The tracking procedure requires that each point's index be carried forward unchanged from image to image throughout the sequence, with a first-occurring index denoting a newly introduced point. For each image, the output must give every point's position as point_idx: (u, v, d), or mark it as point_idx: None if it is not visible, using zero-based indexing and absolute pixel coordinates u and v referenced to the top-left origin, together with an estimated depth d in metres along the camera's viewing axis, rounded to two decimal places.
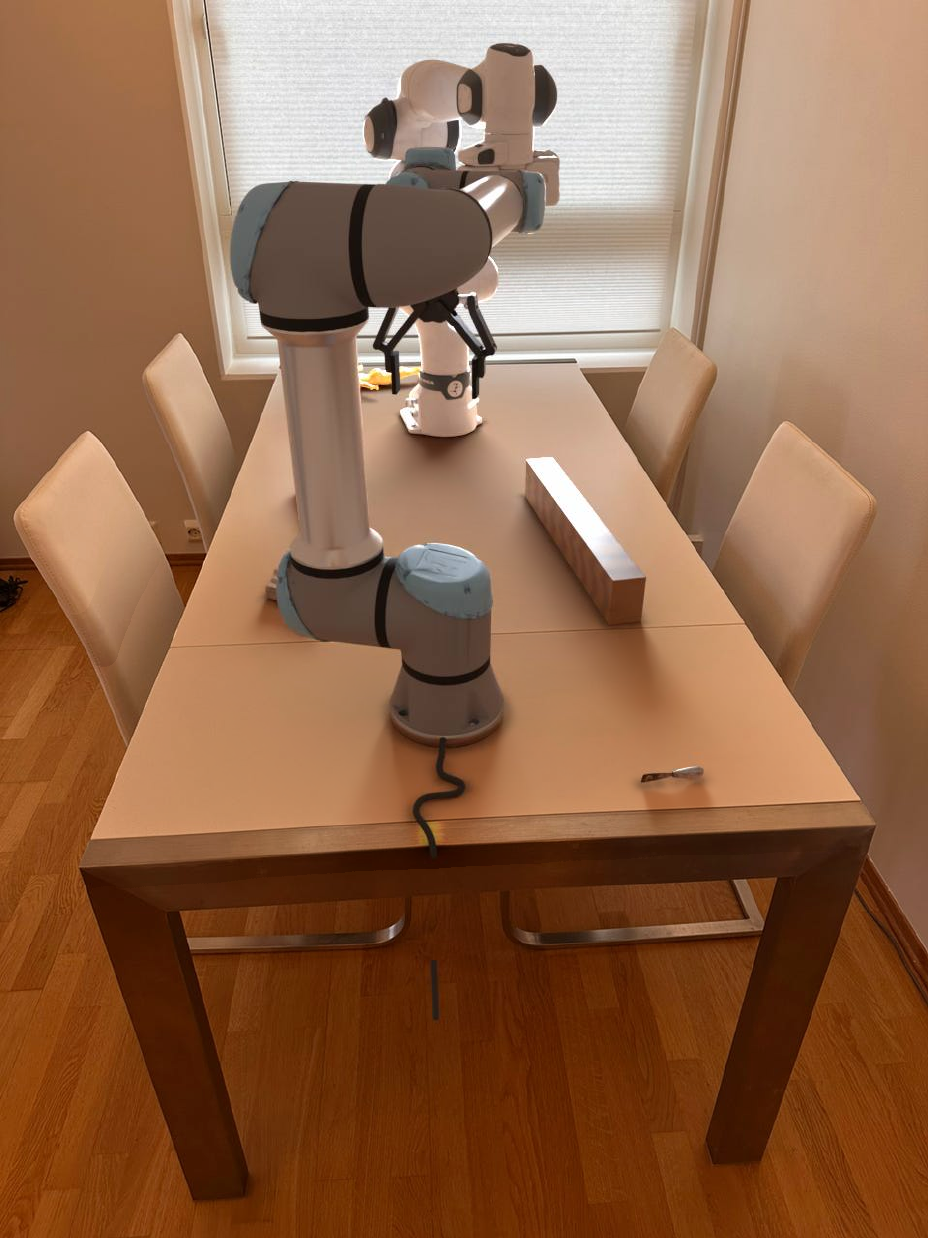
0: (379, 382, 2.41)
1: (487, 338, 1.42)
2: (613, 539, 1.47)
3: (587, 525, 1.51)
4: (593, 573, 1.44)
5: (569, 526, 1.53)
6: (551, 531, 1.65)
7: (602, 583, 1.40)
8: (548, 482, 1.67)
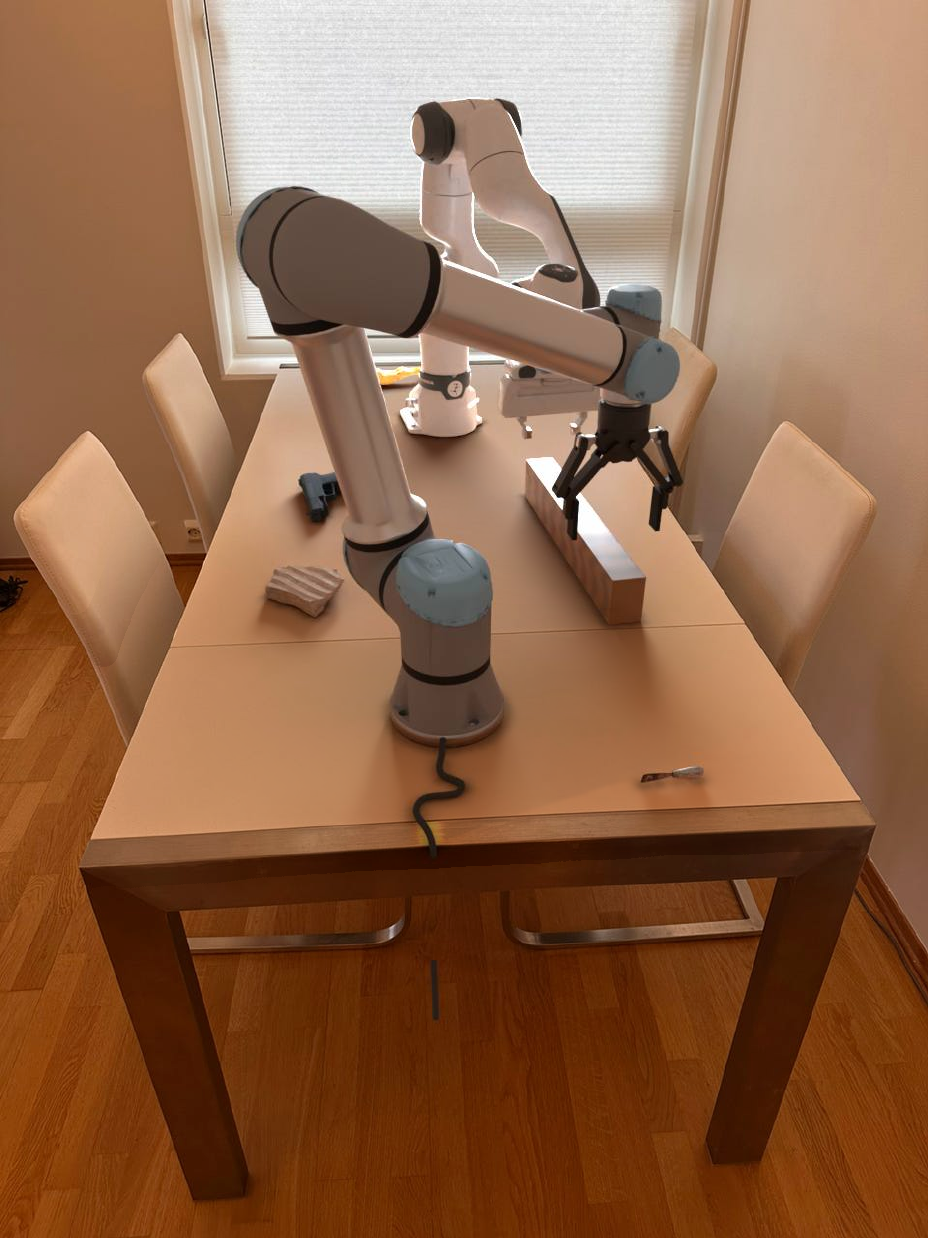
0: None
1: (677, 470, 1.35)
2: (613, 539, 1.47)
3: (587, 525, 1.51)
4: (593, 573, 1.44)
5: None
6: (551, 531, 1.65)
7: (602, 583, 1.40)
8: (548, 482, 1.67)
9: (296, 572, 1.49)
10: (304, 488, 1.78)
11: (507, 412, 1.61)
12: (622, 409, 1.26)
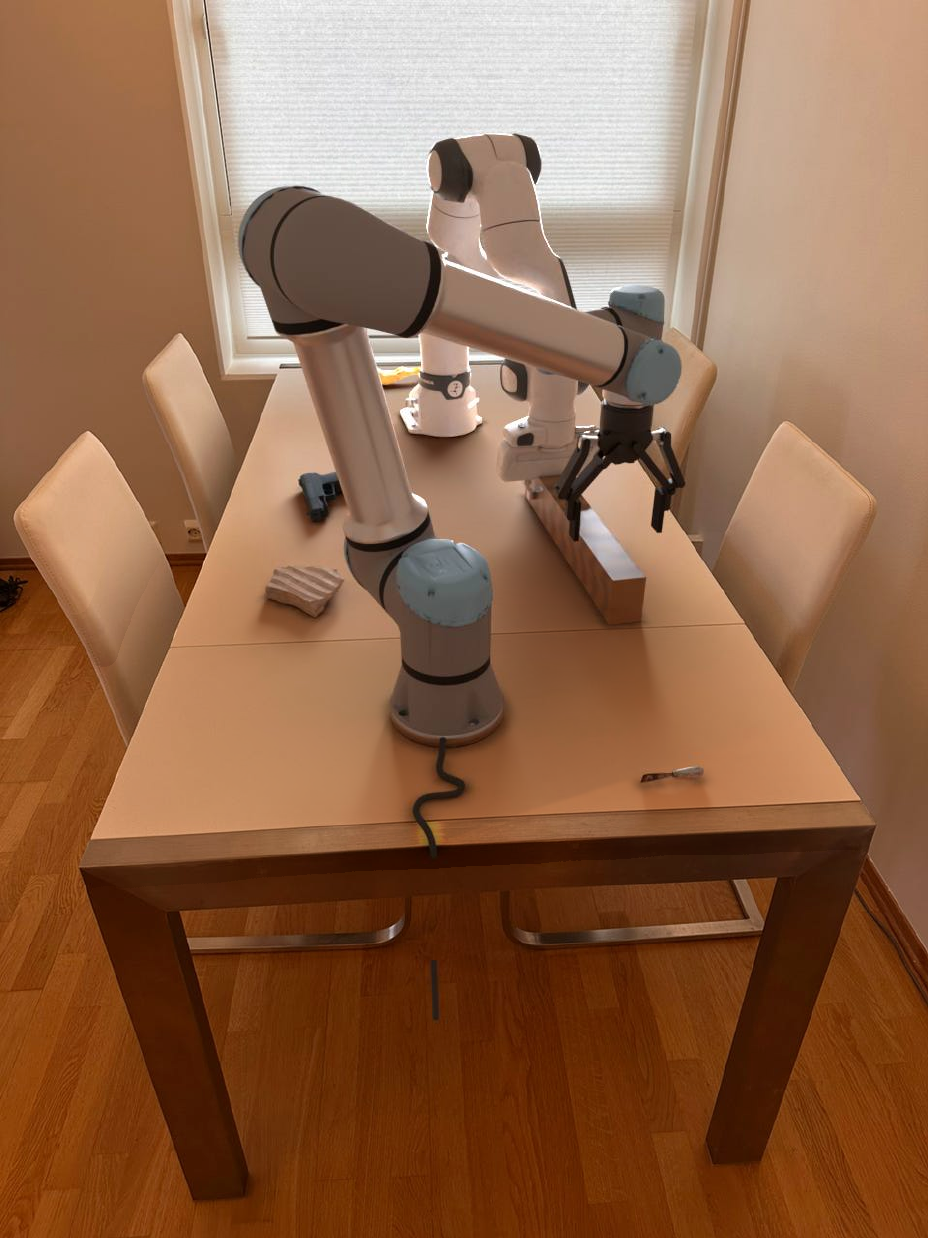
0: None
1: (679, 472, 1.35)
2: (613, 539, 1.47)
3: (587, 525, 1.51)
4: (593, 573, 1.44)
5: None
6: (551, 531, 1.65)
7: (602, 583, 1.40)
8: (548, 482, 1.67)
9: (296, 572, 1.49)
10: (304, 488, 1.78)
11: (506, 477, 1.68)
12: (624, 410, 1.25)
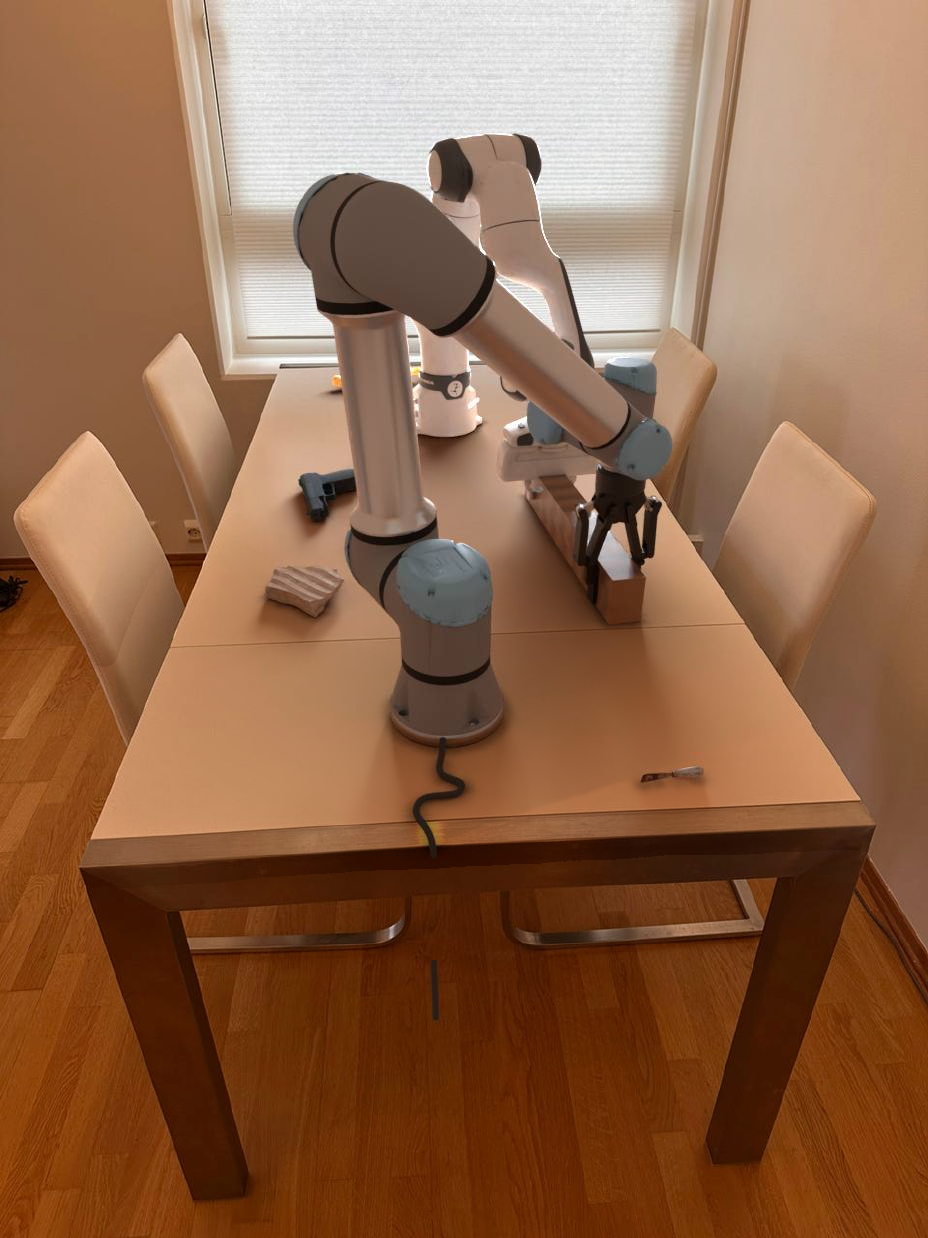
0: None
1: (654, 543, 1.40)
2: (613, 539, 1.47)
3: None
4: None
5: (569, 526, 1.53)
6: (551, 531, 1.65)
7: (602, 583, 1.40)
8: (548, 482, 1.67)
9: (296, 572, 1.49)
10: (304, 488, 1.78)
11: (506, 477, 1.68)
12: (618, 475, 1.31)
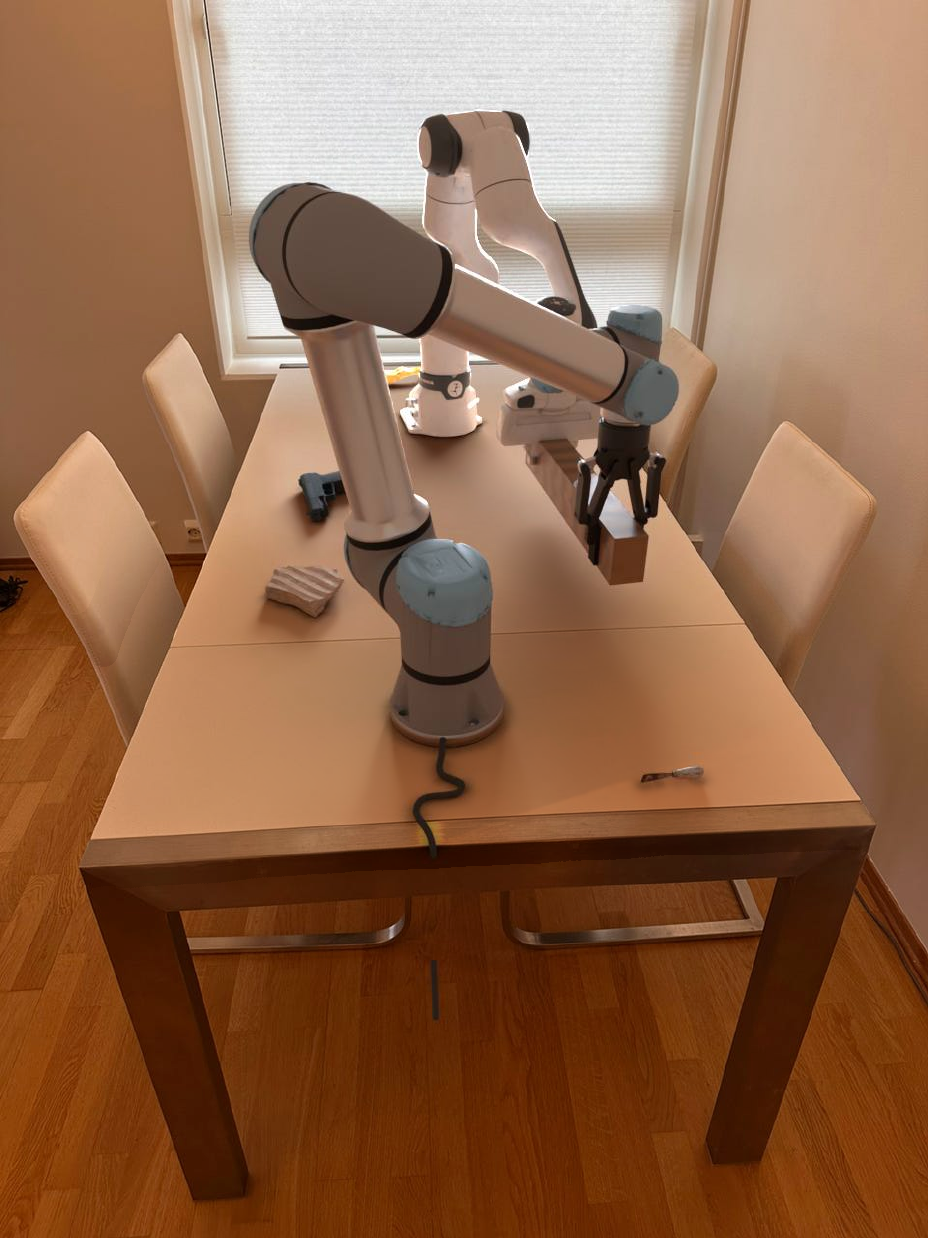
0: None
1: (657, 501, 1.37)
2: (615, 499, 1.43)
3: None
4: None
5: (570, 487, 1.50)
6: (551, 495, 1.61)
7: (604, 542, 1.36)
8: (549, 445, 1.64)
9: (296, 572, 1.49)
10: (304, 488, 1.78)
11: (506, 441, 1.64)
12: (622, 428, 1.27)
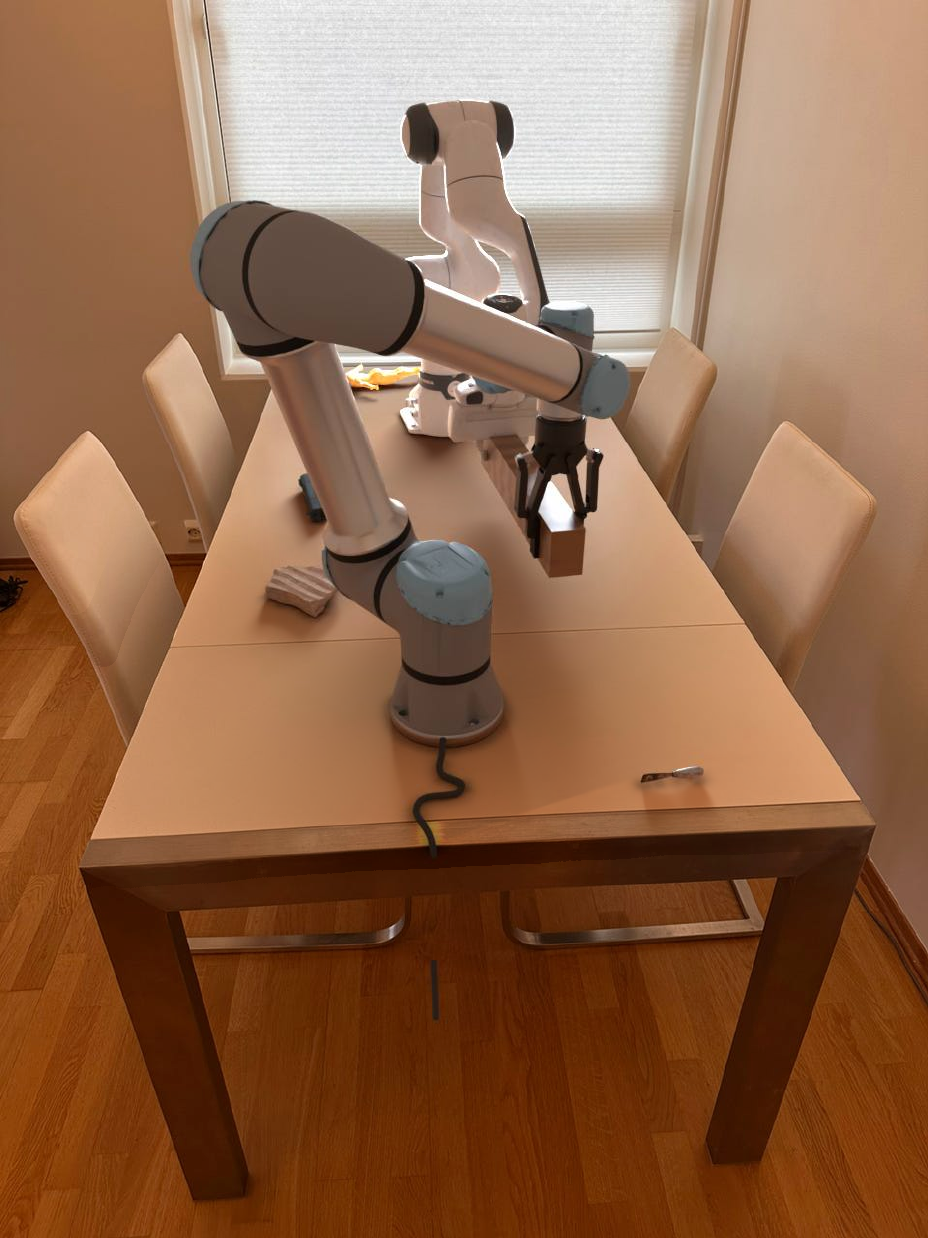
0: (379, 382, 2.41)
1: (596, 496, 1.38)
2: (557, 494, 1.45)
3: (533, 481, 1.50)
4: None
5: (515, 482, 1.52)
6: (500, 491, 1.63)
7: (543, 535, 1.38)
8: (498, 441, 1.65)
9: (296, 572, 1.49)
10: (304, 488, 1.78)
11: (456, 437, 1.66)
12: (556, 423, 1.29)
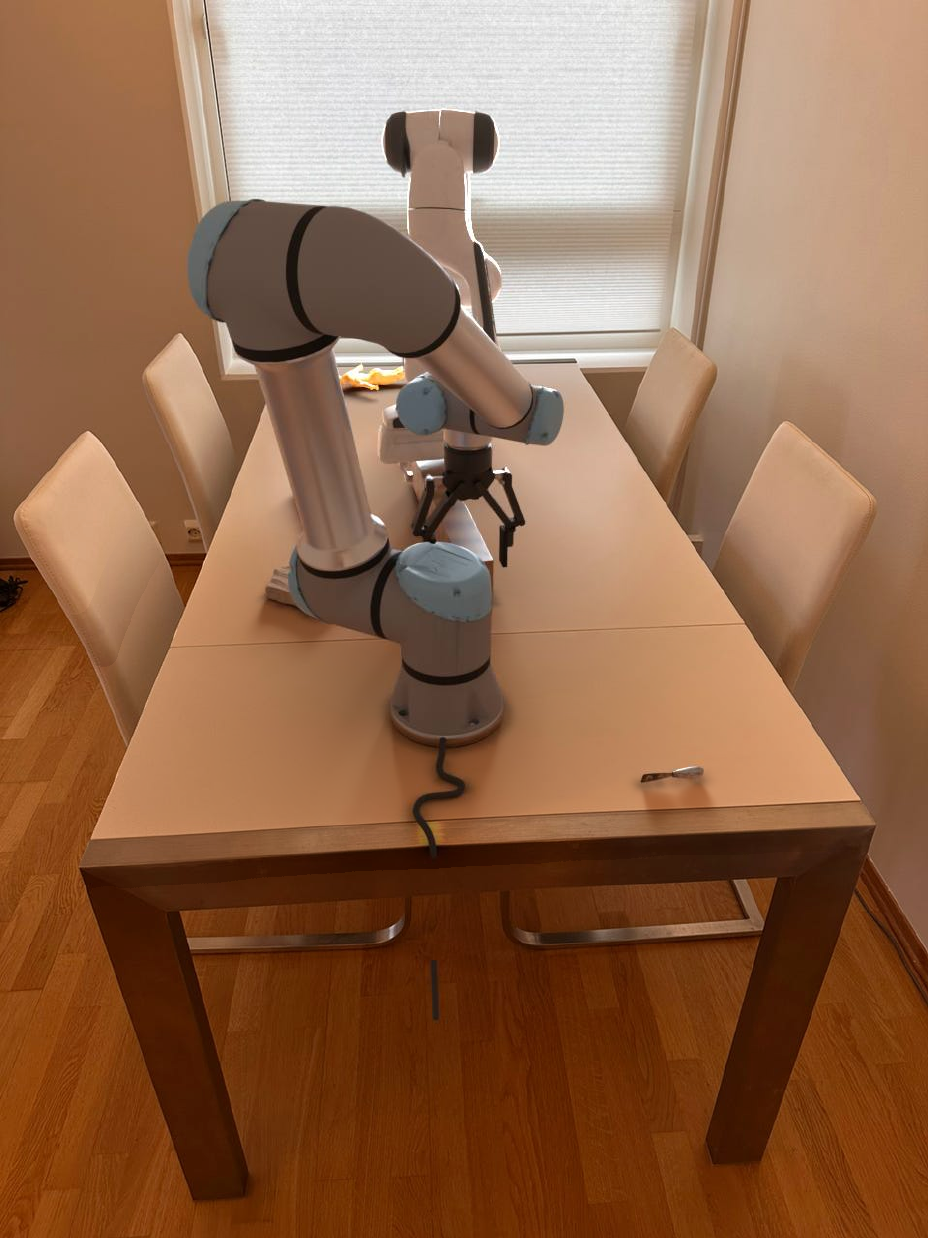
0: (379, 382, 2.41)
1: (520, 511, 1.44)
2: (472, 525, 1.52)
3: (451, 512, 1.56)
4: None
5: None
6: (427, 518, 1.70)
7: None
8: (425, 470, 1.72)
9: None
10: None
11: (385, 459, 1.72)
12: (461, 452, 1.34)
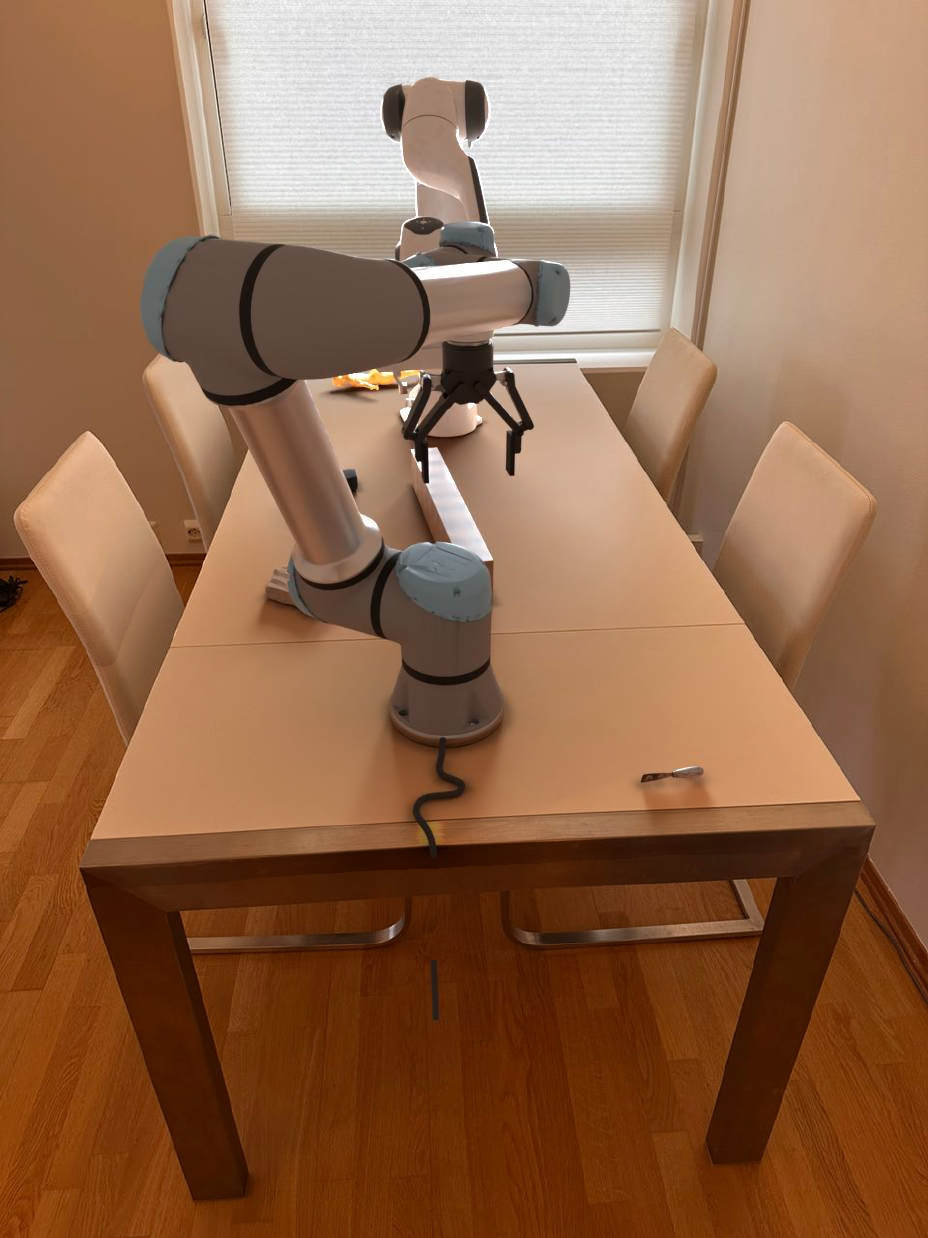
0: (379, 382, 2.41)
1: (527, 413, 1.35)
2: (472, 525, 1.52)
3: (451, 512, 1.56)
4: None
5: (436, 512, 1.58)
6: (427, 518, 1.70)
7: None
8: None
9: None
10: None
11: None
12: (460, 348, 1.26)
